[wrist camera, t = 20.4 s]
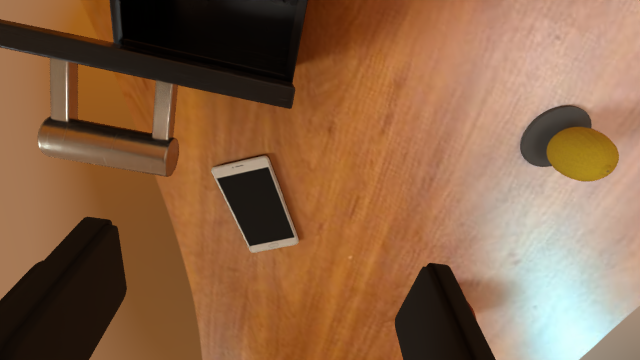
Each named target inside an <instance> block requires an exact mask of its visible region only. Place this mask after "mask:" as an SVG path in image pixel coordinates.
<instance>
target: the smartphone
mask: <svg viewBox="0 0 640 360" xmlns="http://www.w3.org/2000/svg"><path fill="white" fill-rule="evenodd" d="M211 171H212V174H213V176H214V178H215V180H216V182H217V184H218V186H219V188H220V190H221V192H222V194H223V196H224V198H225V200H226V202H227V204H228V206H229V209H230V211H231V213H232V215H233V217H234V219H235V221H236V223H237V225H238V227H239V229H240V231H241V233H242V235H243V237H244V239H245V241H246V243H247V245H248V247H249V249H250V251H251V252H253V253H255V252H260V251H265V250H270V249H275V248H281V247H286V246H291V245H296V244H298V242H299V239H298V236H297V234H296V231H295V228H294V225H293V223H292V220H291V217H290V215H289V212H288V209H287V206H286V204H285V201H284V198H283V194H282V192H281V190H280V186H279V183H278V181H277V178H276V175H275V174H274V171H273V168H272V165H271V163H270V160H269V158H268V157H267V156H260V157H255V158H251V159H247V160H242V161H238V162H233V163H229V164H225V165H220V166H216V167H213V168H212V170H211Z"/></svg>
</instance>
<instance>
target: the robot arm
mask: <svg viewBox="0 0 640 360" xmlns="http://www.w3.org/2000/svg"><path fill="white" fill-rule="evenodd" d="M126 290H127V287H126V280H125V273H124V266H123V260H122V253H121V247H120V240H119V233H118V228H117V226H114V225H112V222H111V221H110V220H107V219H100V218H92V217H86V218H84V219H83V220H81V222H80V223H79V224H78V225H77V226H76V227H75V228H74V229H73V230H72V231H71V232H70V233H69V234H68V236H66V238H65V239H64V240H63V241H62V242H61V243H60V244H59V245H58V246H57V247H56V248H55V249H54V250H53V251H52V253H51V254H50V255H49V256H48V257H47V258H46V259H45V260H44V261H41V262H38V263H37V264H35V265H34V266H33V267H32V268H31V269H30V270H29V271H28V272H27V273H26V274H25V275H24V276H23V277H22V278H21V279H20V280H19V281H18V282H17V283H16V285H15V286H14V287H13V288H12V289H11V290H10V291H9V292H8V293H7V294H6V295H5V296H4V297H3V298H2V299H1V300H0V360H89V358H90V357H91V355H92V353H93V352H94V350H95V348H96V346H97V345H98V343H99V341H100V339H101V338H102V336H103V334H104V333H105V331H106V329H107V327H108V326H109V324H110V322H111V320H112V319H113V317H114V315H115V313H116V312H117V310H118V308H119V307H120V305H121V303H122V301H123V299H124V297H125V294H126ZM395 328H396V332H397V336H398V340H399V344H400V348H401V352H402V356H403V360H496V359H495V357H494V355H493V353H492V351H491V349H490V347H489V345H488V343H487V341H486V339H485V337H484V335H483V333H482V331H481V329H480V327H479V325H478V323H477V321H476V319H475V317H474V315H473V313H472V311H471V309H470V307H469V305H468V303H467V301H466V299H465V297H464V295H463V292H462V290H461V288H460V286H459V284H458V282H457V280H456V278H455V276H454V274H453V272H452V270H451V268H450V267H449V266H448V265H443V264H435V263H429V264H428V265H427V266H426V267H422V269H421V271H420V272H419V274H418V276H417V278H416V280H415V282H414V284H413V286H412V287H411V289H410V291H409V293H408V295H407V297H406V299H405V300H404V302H403V304H402V306H401V308H400V310H399V312H398V314H397V315H396V318H395Z"/></svg>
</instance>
